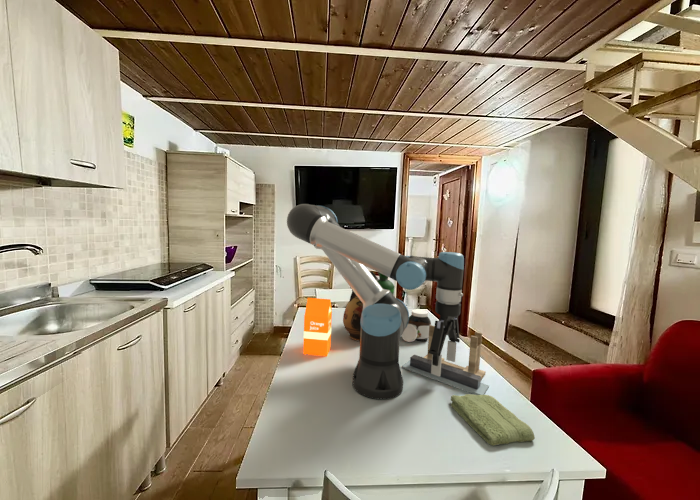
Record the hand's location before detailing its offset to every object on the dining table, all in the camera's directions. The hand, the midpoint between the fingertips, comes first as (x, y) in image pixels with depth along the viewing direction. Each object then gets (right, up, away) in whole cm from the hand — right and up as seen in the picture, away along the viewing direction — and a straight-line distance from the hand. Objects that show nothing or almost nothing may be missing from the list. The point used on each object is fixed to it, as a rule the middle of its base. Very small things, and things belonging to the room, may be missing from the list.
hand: (443, 367), depth 97 cm
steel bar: (0, -3, 0) cm, 3 cm away
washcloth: (+5, -6, -21) cm, 22 cm away
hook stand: (+5, -3, +7) cm, 9 cm away
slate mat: (0, -3, 0) cm, 3 cm away
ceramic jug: (-26, 0, +31) cm, 41 cm away
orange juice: (-42, 0, +16) cm, 45 cm away
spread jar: (-2, -1, +32) cm, 32 cm away
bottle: (-15, +2, +49) cm, 51 cm away
